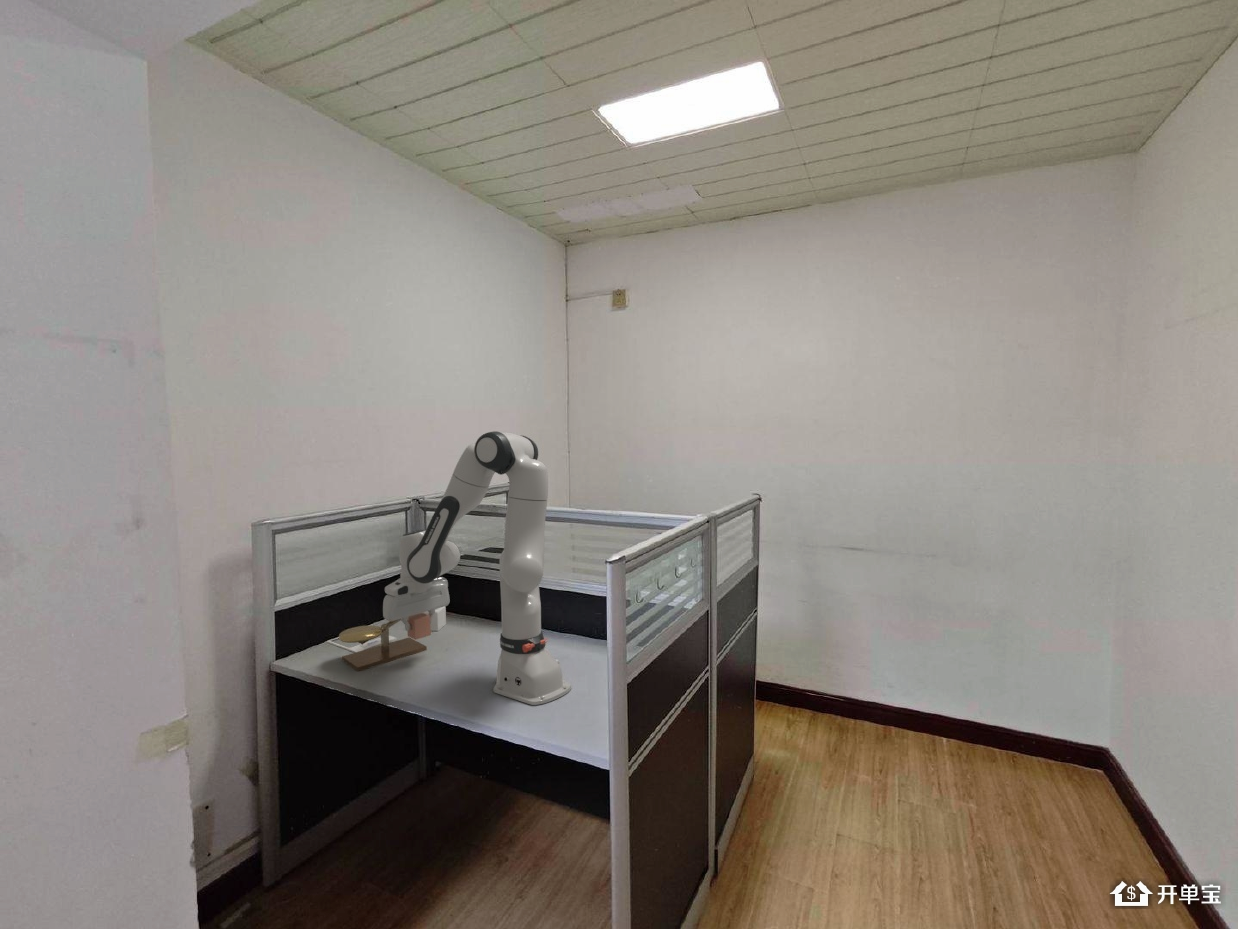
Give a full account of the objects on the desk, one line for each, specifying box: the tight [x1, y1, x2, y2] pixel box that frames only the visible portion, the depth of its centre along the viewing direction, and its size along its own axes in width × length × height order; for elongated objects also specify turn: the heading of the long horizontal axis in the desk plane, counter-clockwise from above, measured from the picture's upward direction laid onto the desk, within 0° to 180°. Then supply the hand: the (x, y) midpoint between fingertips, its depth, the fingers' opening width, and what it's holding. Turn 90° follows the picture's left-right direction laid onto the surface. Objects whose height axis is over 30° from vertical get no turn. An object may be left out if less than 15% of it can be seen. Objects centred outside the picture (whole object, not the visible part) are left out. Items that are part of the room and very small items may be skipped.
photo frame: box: [326, 635, 398, 653], centre depth 187 cm, size 15×1×18 cm
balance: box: [338, 619, 427, 672], centre depth 175 cm, size 12×27×15 cm, turn 137°
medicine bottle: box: [423, 606, 447, 632], centre depth 200 cm, size 7×7×12 cm
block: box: [406, 613, 432, 641], centre depth 168 cm, size 5×5×6 cm
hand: (418, 627), depth 168 cm, fingers closed on block, 5 cm apart
